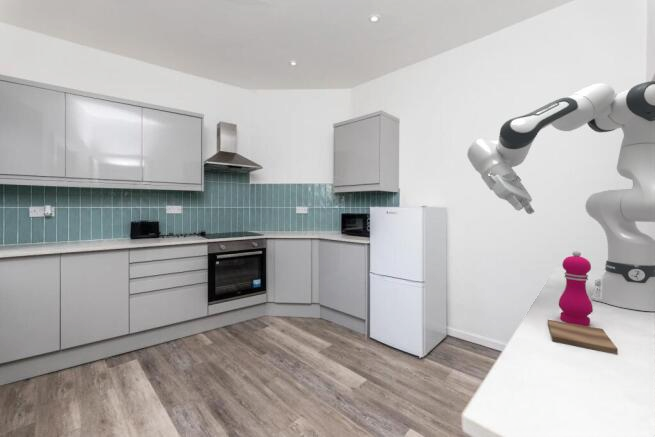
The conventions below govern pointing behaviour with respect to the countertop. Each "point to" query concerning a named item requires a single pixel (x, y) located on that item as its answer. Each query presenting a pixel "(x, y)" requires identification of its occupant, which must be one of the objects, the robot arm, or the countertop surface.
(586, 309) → the pepper mill
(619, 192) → the robot arm
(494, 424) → the countertop surface
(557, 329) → the walnut board
